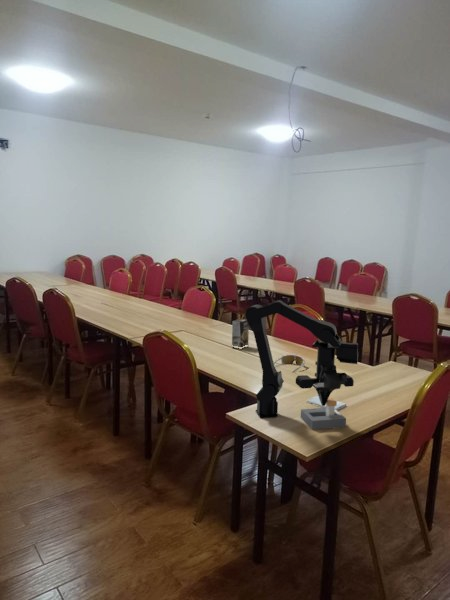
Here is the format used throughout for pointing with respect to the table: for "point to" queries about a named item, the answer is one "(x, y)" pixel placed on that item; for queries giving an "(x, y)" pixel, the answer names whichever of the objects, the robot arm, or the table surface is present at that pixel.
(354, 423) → the table surface
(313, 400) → the hard drive
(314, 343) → the robot arm
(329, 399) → the lever
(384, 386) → the table surface
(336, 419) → the breaker panel
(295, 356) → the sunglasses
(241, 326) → the coffee box
